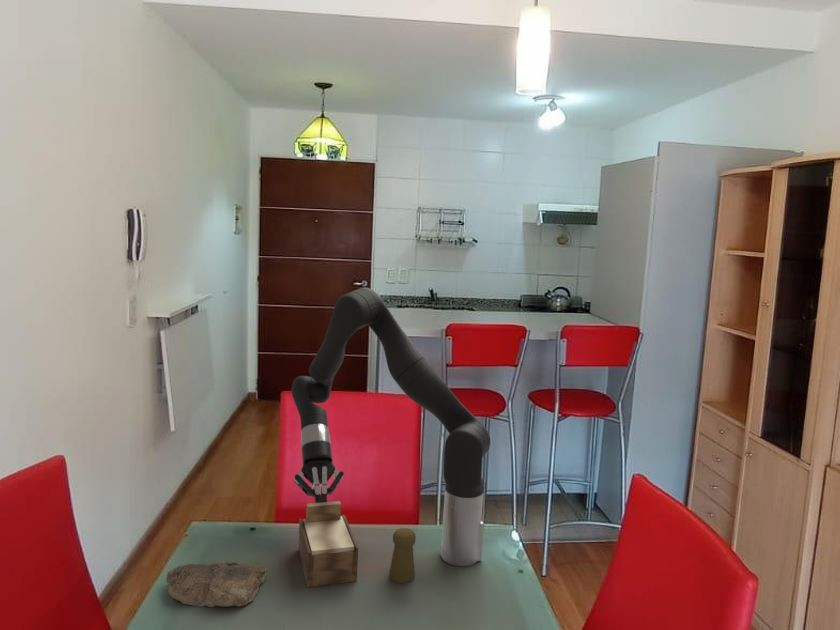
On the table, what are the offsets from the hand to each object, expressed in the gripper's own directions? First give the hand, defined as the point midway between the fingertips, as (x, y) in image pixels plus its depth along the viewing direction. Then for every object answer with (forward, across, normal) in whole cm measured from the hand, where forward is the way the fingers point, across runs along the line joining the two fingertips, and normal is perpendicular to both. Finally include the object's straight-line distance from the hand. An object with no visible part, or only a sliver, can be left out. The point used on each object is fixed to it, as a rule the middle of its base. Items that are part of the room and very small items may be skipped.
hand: (321, 511), depth 157 cm
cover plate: (+8, 0, -5) cm, 9 cm away
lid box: (+13, 0, 0) cm, 13 cm away
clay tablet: (+16, -25, -3) cm, 30 cm away
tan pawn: (+19, +16, -6) cm, 25 cm away
